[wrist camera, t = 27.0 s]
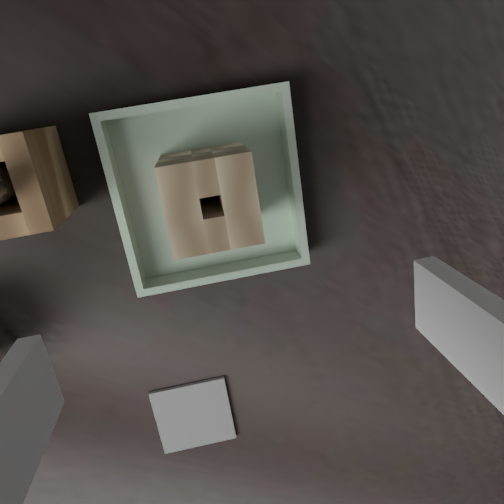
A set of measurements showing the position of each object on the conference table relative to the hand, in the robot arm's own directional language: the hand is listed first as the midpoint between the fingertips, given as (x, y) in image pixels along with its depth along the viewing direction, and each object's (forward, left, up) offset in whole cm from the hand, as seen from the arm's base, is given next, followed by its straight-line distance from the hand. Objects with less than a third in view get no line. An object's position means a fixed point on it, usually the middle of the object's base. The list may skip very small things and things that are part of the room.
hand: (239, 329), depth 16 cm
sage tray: (0, 0, -27) cm, 27 cm away
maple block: (0, 0, -26) cm, 26 cm away
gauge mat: (-6, -24, -27) cm, 36 cm away
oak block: (-15, +4, -27) cm, 31 cm away
